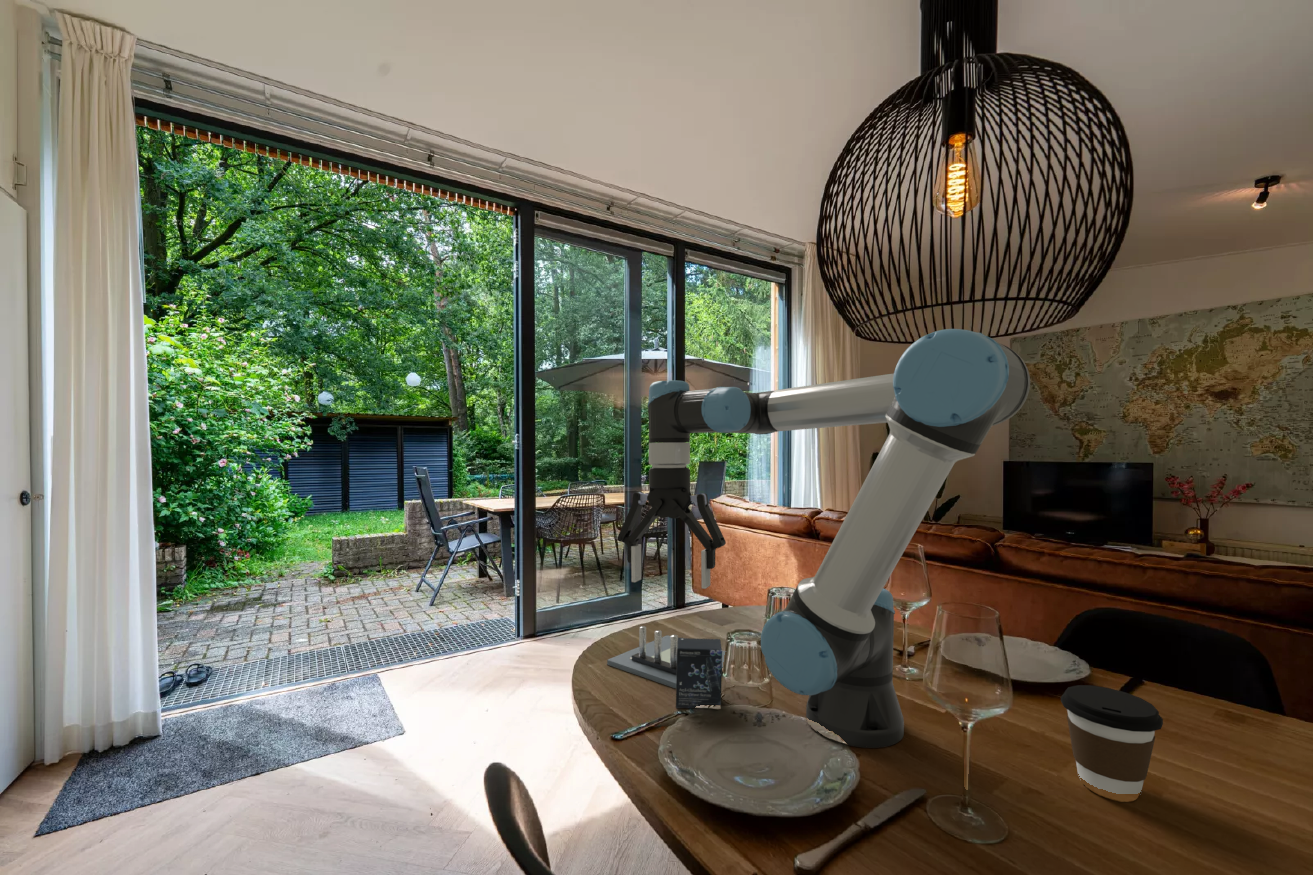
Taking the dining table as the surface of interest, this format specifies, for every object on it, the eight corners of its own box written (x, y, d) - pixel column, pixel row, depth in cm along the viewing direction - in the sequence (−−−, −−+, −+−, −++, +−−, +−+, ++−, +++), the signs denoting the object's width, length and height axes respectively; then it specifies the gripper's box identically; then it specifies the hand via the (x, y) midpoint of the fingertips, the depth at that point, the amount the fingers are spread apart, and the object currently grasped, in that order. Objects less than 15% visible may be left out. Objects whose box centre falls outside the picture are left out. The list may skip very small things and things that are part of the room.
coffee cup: (1167, 826, 72) (1169, 728, 72) (1059, 794, 78) (1060, 703, 78) (1156, 783, 81) (1157, 696, 81) (1060, 758, 87) (1061, 677, 87)
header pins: (685, 672, 114) (685, 636, 114) (678, 676, 112) (679, 639, 112) (638, 657, 122) (638, 623, 122) (631, 660, 120) (632, 626, 120)
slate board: (742, 661, 123) (742, 655, 123) (686, 692, 108) (686, 685, 108) (667, 639, 136) (667, 634, 136) (607, 664, 120) (607, 658, 120)
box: (675, 709, 101) (676, 647, 101) (676, 695, 107) (677, 636, 107) (721, 711, 100) (722, 649, 101) (719, 696, 106) (720, 638, 106)
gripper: (741, 466, 105) (743, 585, 105) (617, 465, 115) (618, 574, 115) (729, 467, 98) (731, 594, 98) (599, 466, 108) (599, 582, 108)
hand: (670, 584), depth 106 cm, fingers open, 13 cm apart
